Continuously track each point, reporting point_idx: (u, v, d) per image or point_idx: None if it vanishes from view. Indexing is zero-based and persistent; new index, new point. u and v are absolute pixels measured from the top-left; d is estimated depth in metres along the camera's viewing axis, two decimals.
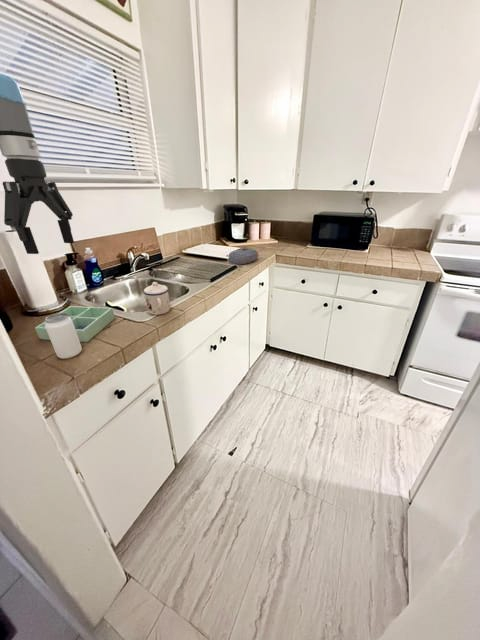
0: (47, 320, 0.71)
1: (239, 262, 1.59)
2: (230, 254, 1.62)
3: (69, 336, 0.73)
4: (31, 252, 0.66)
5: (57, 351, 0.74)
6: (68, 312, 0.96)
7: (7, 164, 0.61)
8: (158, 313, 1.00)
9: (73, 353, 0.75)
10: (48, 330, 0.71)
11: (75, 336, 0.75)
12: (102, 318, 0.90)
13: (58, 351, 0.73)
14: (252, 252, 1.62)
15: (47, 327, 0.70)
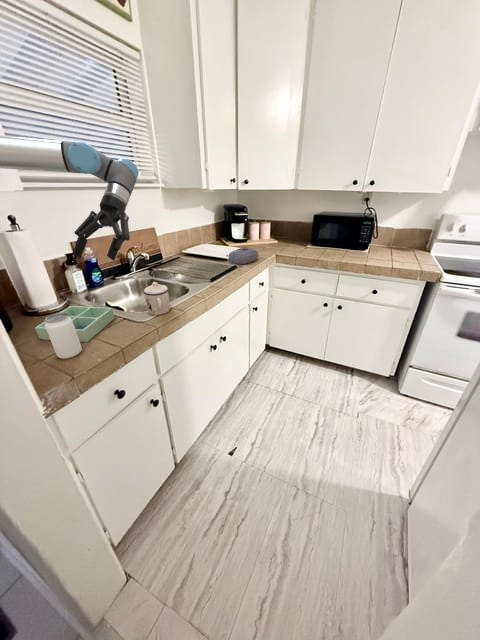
0: (47, 320, 0.71)
1: (239, 262, 1.59)
2: (230, 254, 1.62)
3: (69, 336, 0.73)
4: (112, 257, 0.81)
5: (57, 351, 0.74)
6: (68, 312, 0.96)
7: (119, 201, 0.86)
8: (158, 313, 1.00)
9: (73, 353, 0.75)
10: (48, 330, 0.71)
11: (75, 336, 0.75)
12: (102, 318, 0.90)
13: (58, 351, 0.73)
14: (252, 252, 1.62)
15: (47, 327, 0.70)
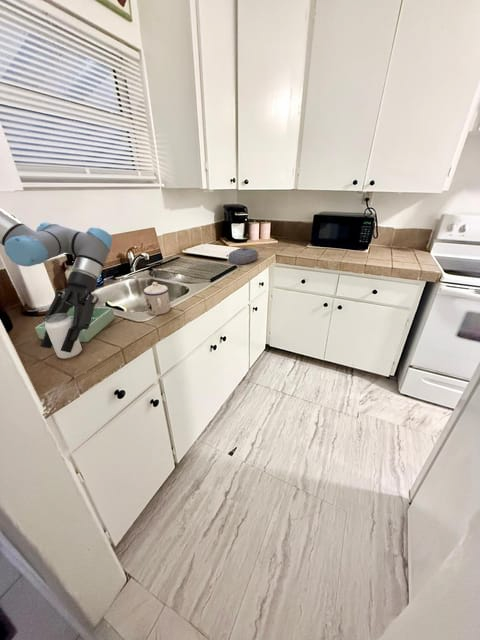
0: (47, 320, 0.71)
1: (239, 262, 1.59)
2: (230, 254, 1.62)
3: None
4: (67, 350, 0.72)
5: (57, 351, 0.74)
6: (68, 312, 0.96)
7: (89, 278, 0.77)
8: (158, 313, 1.00)
9: (73, 353, 0.75)
10: (48, 330, 0.71)
11: None
12: (102, 318, 0.90)
13: (58, 351, 0.73)
14: (252, 252, 1.62)
15: (47, 327, 0.70)
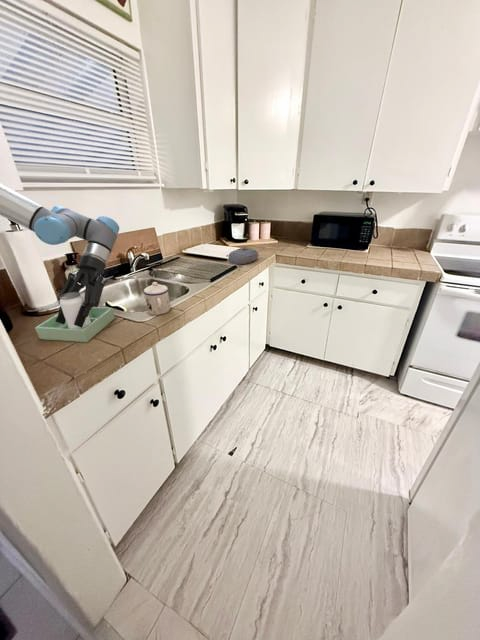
0: (62, 298, 0.80)
1: (239, 262, 1.59)
2: (230, 254, 1.62)
3: None
4: (79, 325, 0.81)
5: (70, 326, 0.82)
6: None
7: (98, 262, 0.85)
8: (158, 313, 1.00)
9: None
10: (63, 306, 0.79)
11: None
12: (102, 318, 0.90)
13: (71, 325, 0.82)
14: (252, 252, 1.62)
15: (62, 303, 0.79)
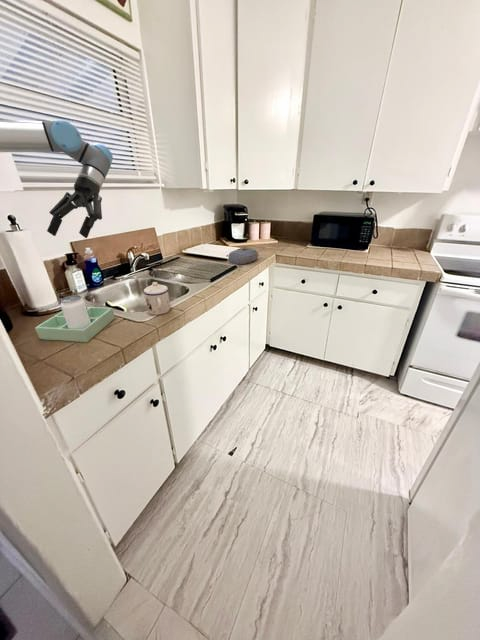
0: (62, 301, 0.80)
1: (239, 262, 1.59)
2: (230, 254, 1.62)
3: (82, 315, 0.82)
4: (84, 234, 0.86)
5: None
6: None
7: (92, 183, 0.91)
8: (158, 313, 1.00)
9: None
10: (63, 309, 0.80)
11: (87, 316, 0.84)
12: (102, 318, 0.90)
13: (72, 328, 0.83)
14: (252, 252, 1.62)
15: (63, 307, 0.79)
